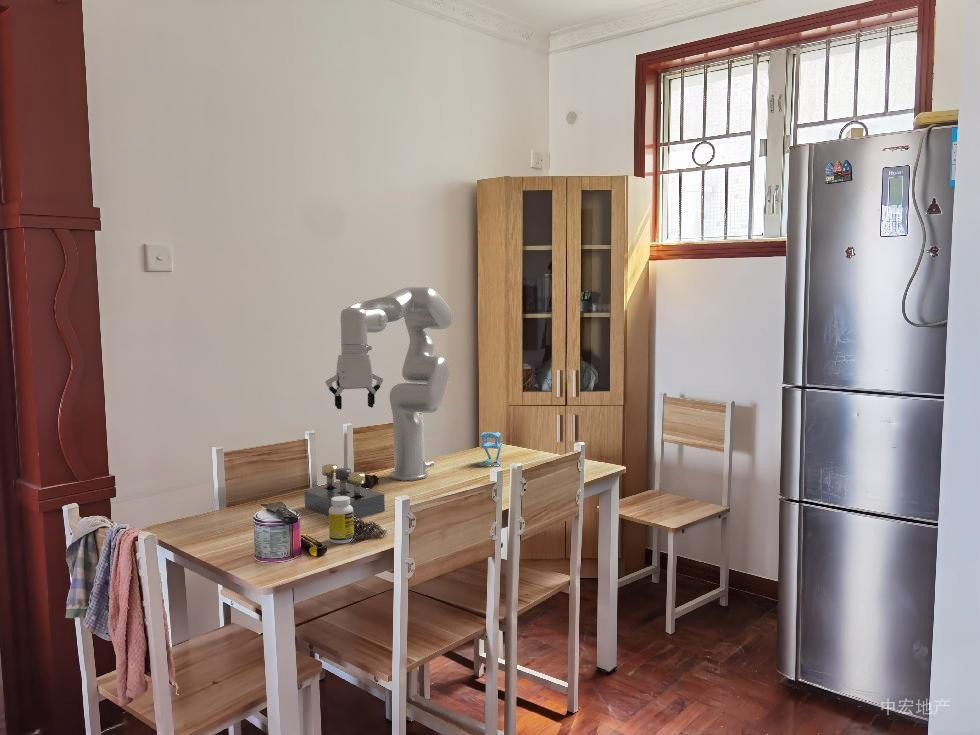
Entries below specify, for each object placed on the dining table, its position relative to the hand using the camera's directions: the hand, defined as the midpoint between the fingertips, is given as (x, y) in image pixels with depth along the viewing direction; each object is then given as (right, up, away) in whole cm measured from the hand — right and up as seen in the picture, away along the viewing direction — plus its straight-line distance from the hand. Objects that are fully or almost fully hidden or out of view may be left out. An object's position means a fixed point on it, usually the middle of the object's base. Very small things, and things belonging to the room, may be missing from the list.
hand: (354, 407), depth 236 cm
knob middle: (-2, -25, -6) cm, 26 cm away
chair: (+41, -23, +49) cm, 68 cm away
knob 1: (-7, -25, -1) cm, 26 cm away
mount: (-2, -29, -6) cm, 30 cm away
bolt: (-1, -27, +16) cm, 31 cm away
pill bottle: (+2, -32, -33) cm, 46 cm away
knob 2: (+3, -26, -11) cm, 28 cm away
